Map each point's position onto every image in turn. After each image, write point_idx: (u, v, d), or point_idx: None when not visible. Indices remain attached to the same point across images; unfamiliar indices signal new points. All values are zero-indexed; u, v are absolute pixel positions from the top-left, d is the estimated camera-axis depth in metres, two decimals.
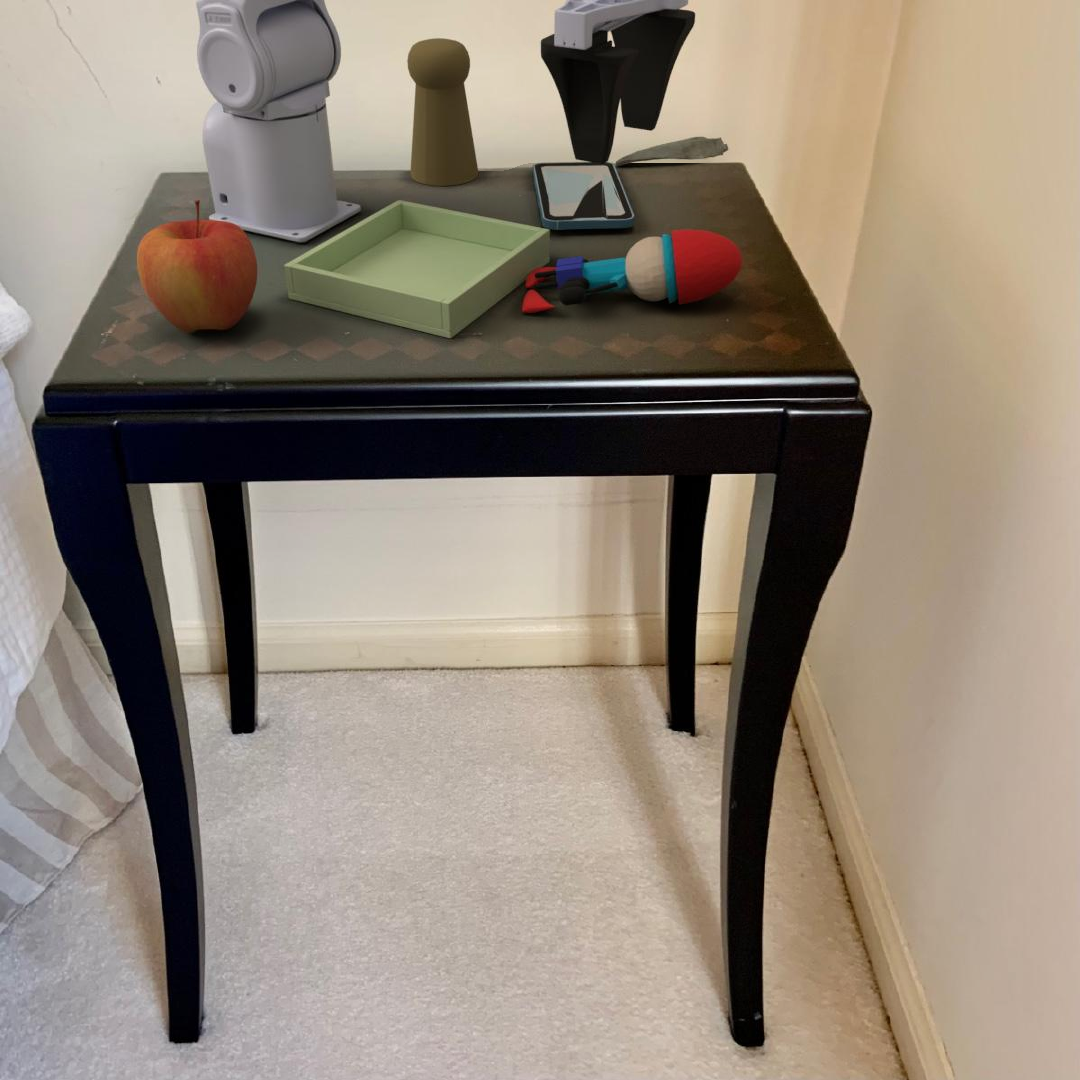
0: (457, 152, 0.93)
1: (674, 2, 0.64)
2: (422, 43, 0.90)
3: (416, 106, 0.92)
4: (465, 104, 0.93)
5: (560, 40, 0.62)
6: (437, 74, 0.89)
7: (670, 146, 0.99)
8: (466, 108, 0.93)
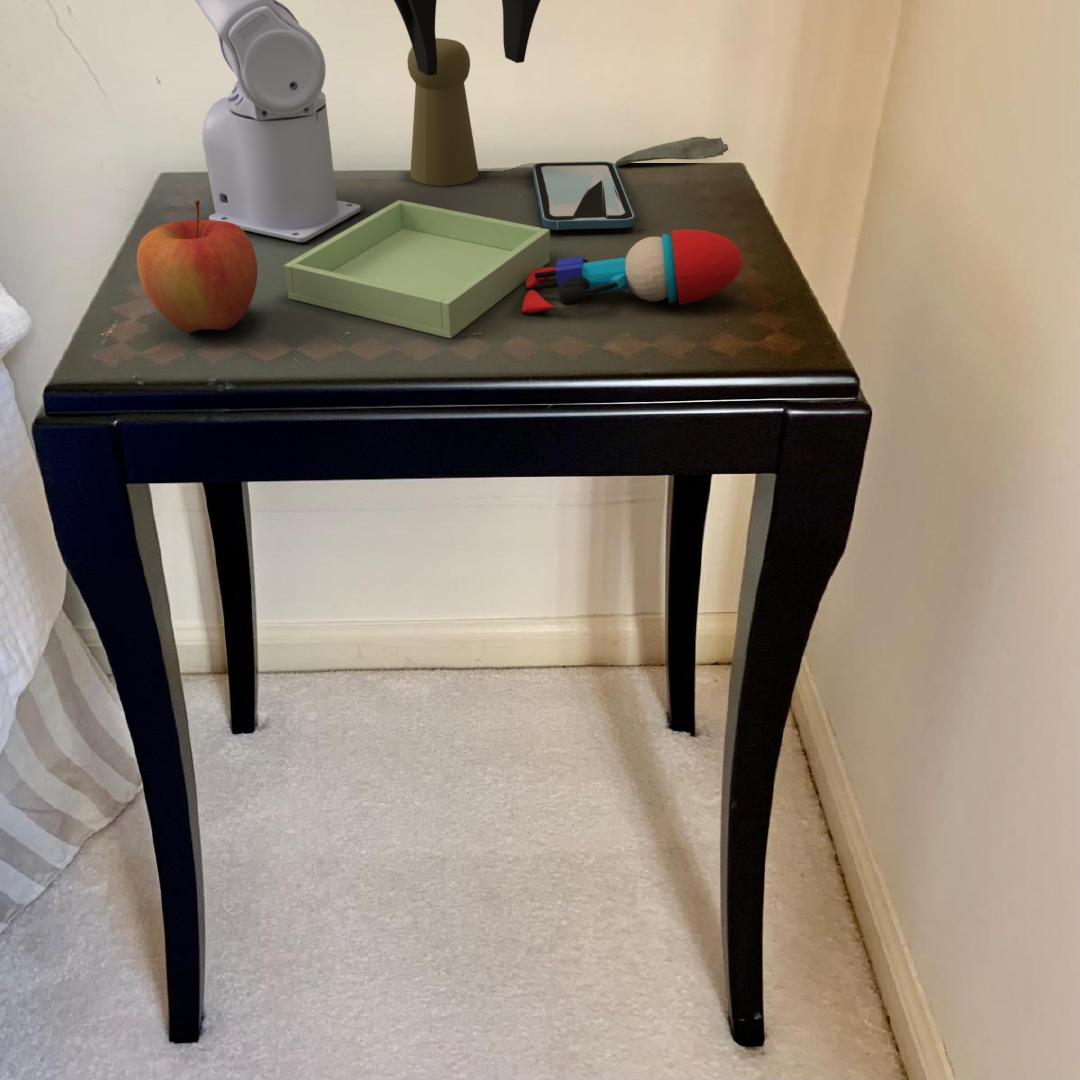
0: (457, 152, 0.93)
1: None
2: None
3: (416, 106, 0.92)
4: (465, 104, 0.93)
5: None
6: (437, 74, 0.89)
7: (670, 146, 0.99)
8: (466, 108, 0.93)
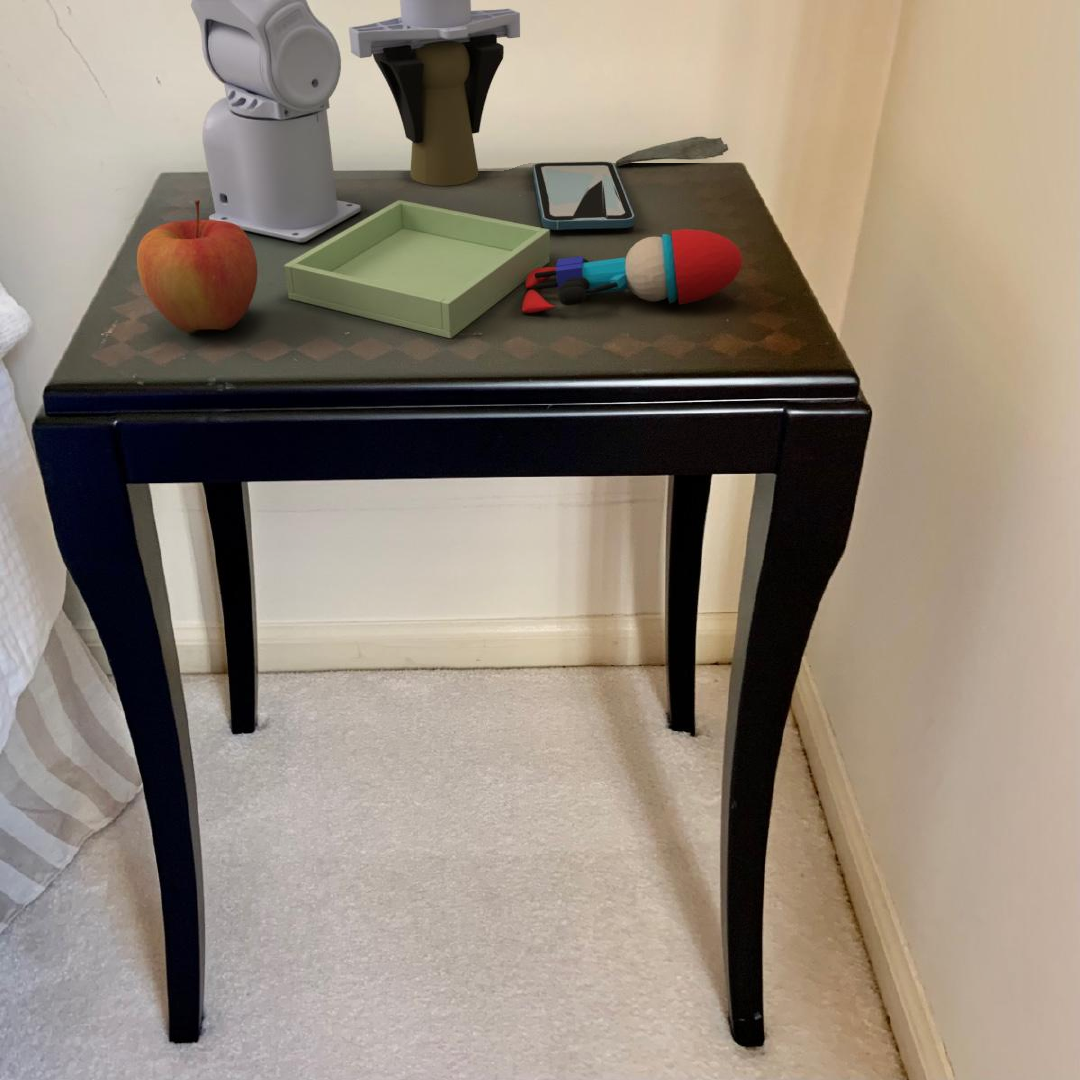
0: (457, 152, 0.93)
1: (445, 34, 0.86)
2: None
3: None
4: (465, 104, 0.93)
5: (352, 49, 0.88)
6: (437, 74, 0.89)
7: (670, 146, 0.99)
8: (466, 108, 0.93)
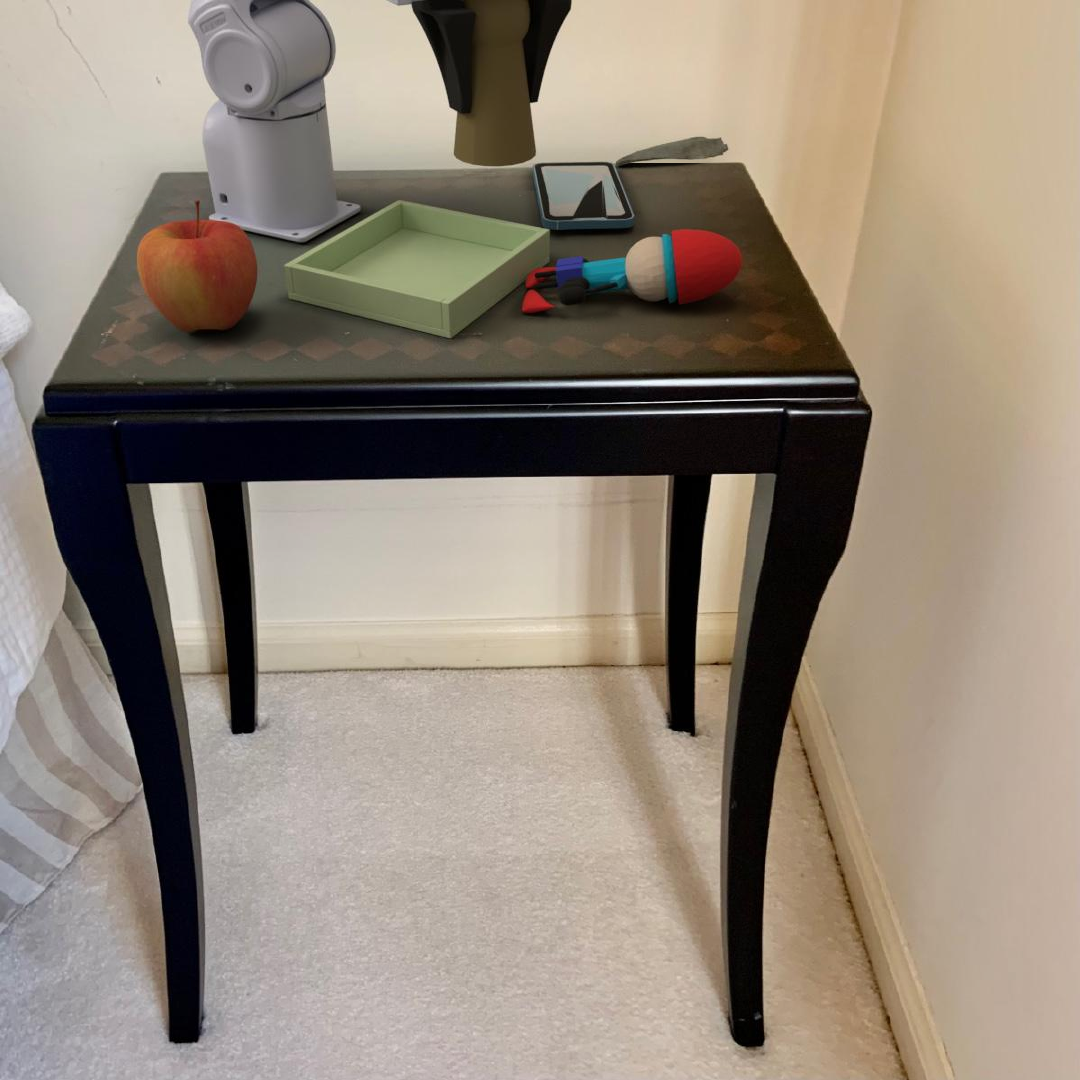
0: (513, 125, 0.76)
1: None
2: None
3: None
4: (523, 66, 0.76)
5: None
6: (492, 27, 0.72)
7: (670, 146, 0.99)
8: (524, 71, 0.76)
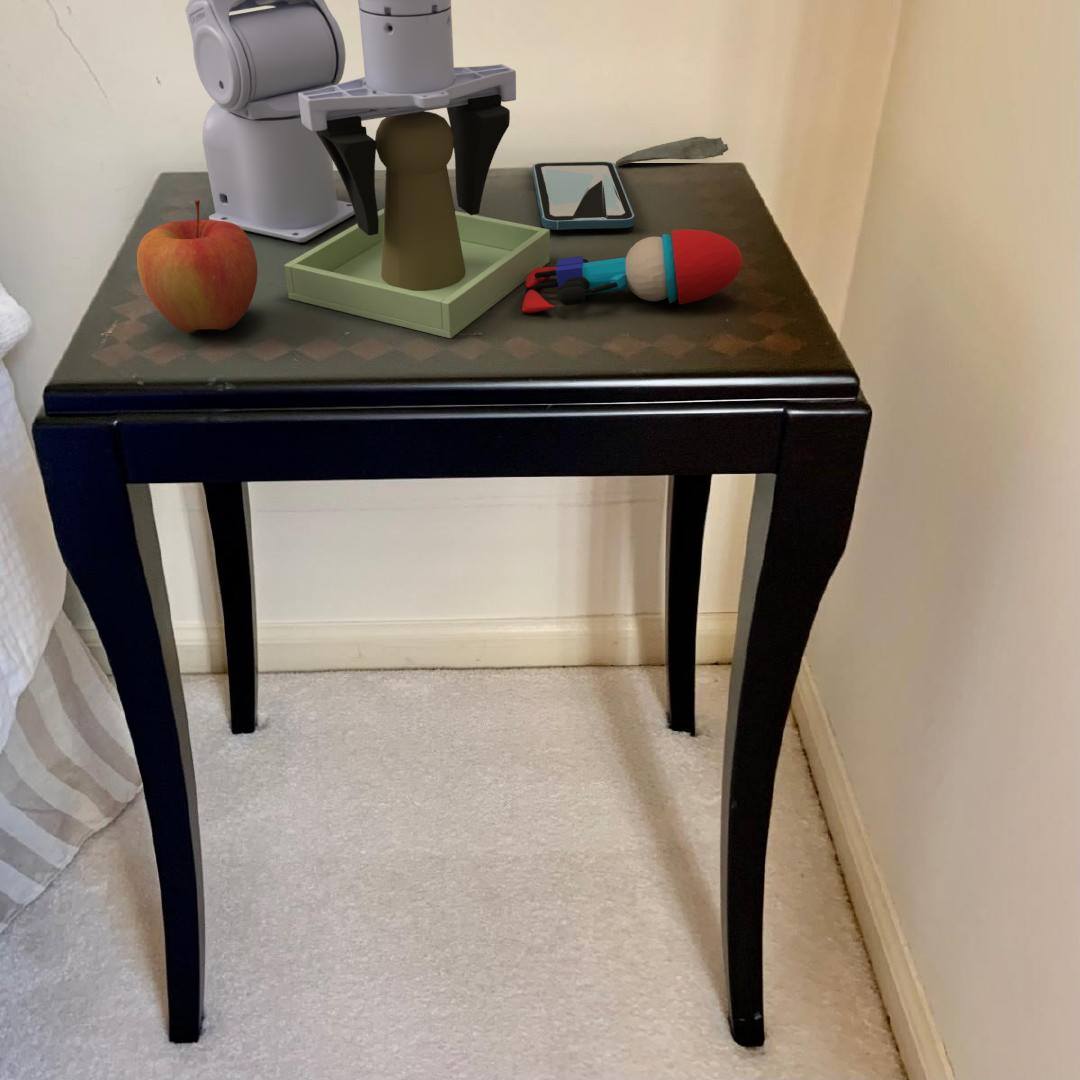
0: (438, 250, 0.75)
1: (420, 101, 0.68)
2: (393, 118, 0.71)
3: (387, 194, 0.74)
4: (448, 191, 0.74)
5: (302, 119, 0.69)
6: (412, 158, 0.71)
7: (670, 146, 0.99)
8: (449, 196, 0.75)
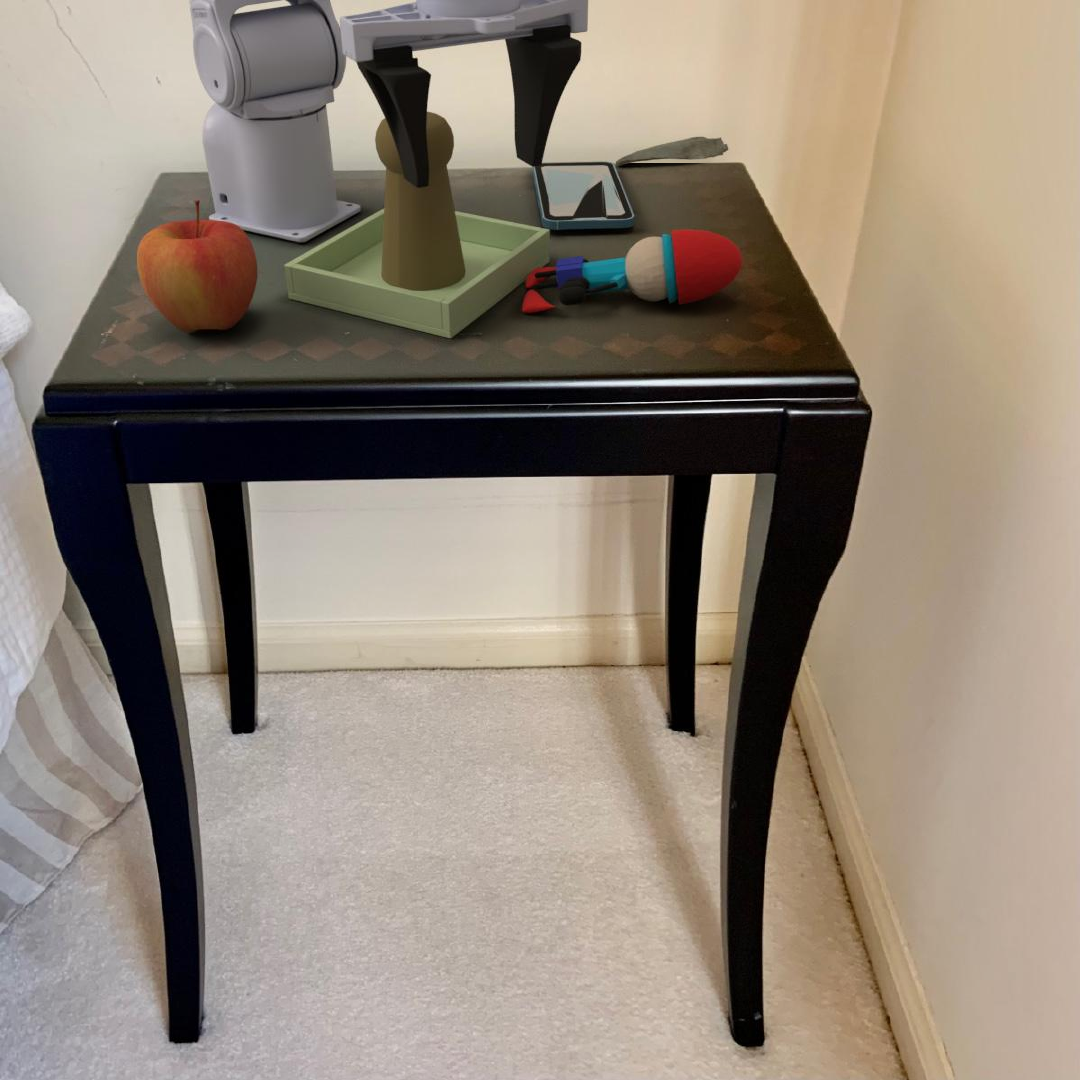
0: (438, 250, 0.75)
1: (483, 26, 0.58)
2: None
3: (387, 194, 0.74)
4: (448, 191, 0.74)
5: (344, 48, 0.59)
6: None
7: (670, 146, 0.99)
8: (449, 196, 0.75)
